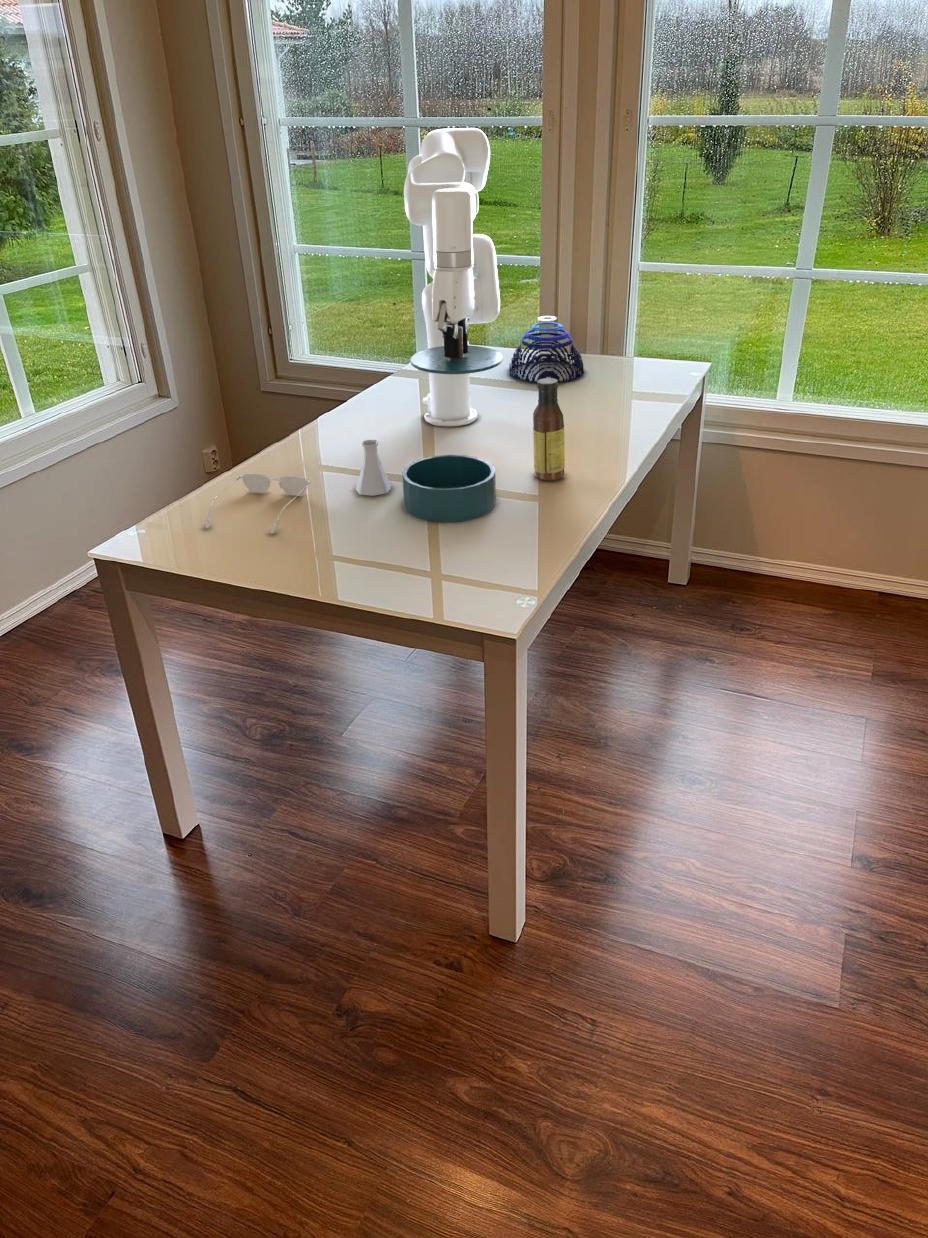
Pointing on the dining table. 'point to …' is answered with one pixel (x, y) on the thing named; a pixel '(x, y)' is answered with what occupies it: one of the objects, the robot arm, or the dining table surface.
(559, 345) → the decorative bowl
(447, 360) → the lid
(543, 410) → the sauce bottle
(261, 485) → the eyeglasses
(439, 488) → the pot
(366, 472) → the flask
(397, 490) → the dining table surface
